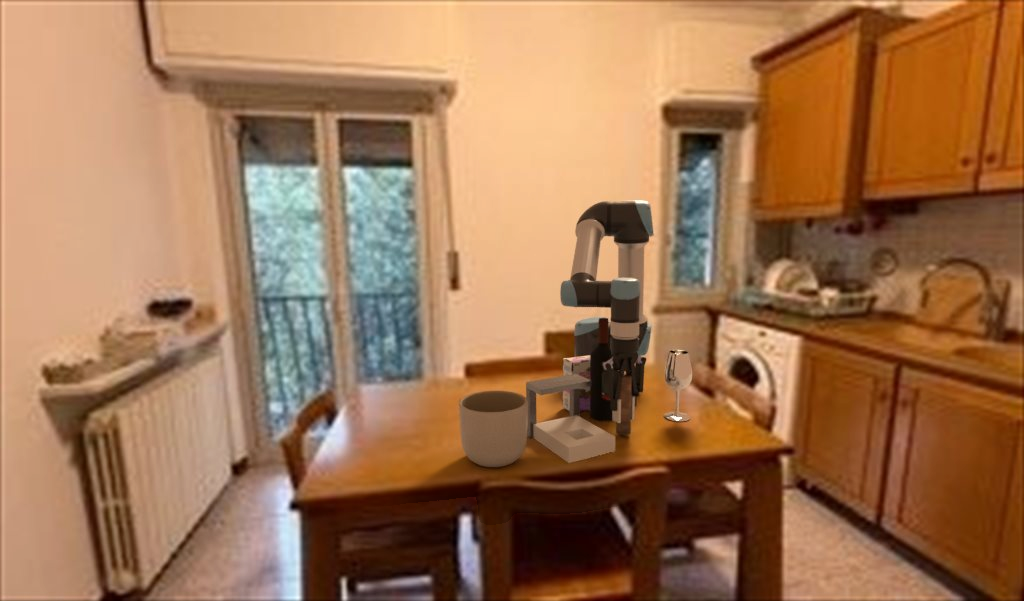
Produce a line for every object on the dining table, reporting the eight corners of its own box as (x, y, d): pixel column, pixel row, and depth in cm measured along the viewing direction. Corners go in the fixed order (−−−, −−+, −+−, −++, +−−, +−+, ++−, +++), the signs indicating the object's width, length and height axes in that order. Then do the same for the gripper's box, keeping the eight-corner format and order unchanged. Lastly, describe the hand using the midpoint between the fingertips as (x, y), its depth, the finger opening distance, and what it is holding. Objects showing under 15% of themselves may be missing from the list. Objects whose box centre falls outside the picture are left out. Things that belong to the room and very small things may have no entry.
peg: (624, 428, 157) (625, 373, 155) (633, 433, 154) (634, 376, 151) (612, 431, 156) (613, 375, 153) (621, 436, 152) (622, 379, 149)
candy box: (571, 414, 172) (571, 362, 170) (562, 408, 177) (561, 357, 175) (609, 407, 178) (610, 356, 175) (599, 402, 183) (599, 352, 180)
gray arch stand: (575, 425, 163) (575, 373, 160) (591, 435, 156) (591, 380, 153) (526, 436, 156) (526, 381, 153) (541, 446, 149) (540, 389, 146)
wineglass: (658, 417, 168) (660, 352, 165) (671, 410, 174) (672, 347, 171) (683, 424, 163) (685, 356, 160) (695, 416, 168) (697, 351, 165)
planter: (532, 472, 134) (531, 411, 132) (460, 476, 133) (458, 414, 130) (524, 443, 151) (524, 389, 148) (460, 447, 149) (459, 391, 147)
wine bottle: (600, 410, 175) (600, 315, 170) (620, 416, 169) (621, 318, 165) (584, 417, 170) (585, 319, 165) (605, 423, 164) (606, 322, 160)
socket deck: (576, 428, 161) (576, 415, 160) (615, 451, 145) (615, 436, 144) (533, 437, 154) (533, 424, 154) (568, 463, 139) (568, 447, 138)
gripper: (640, 330, 157) (639, 410, 161) (589, 337, 150) (589, 421, 154) (658, 335, 151) (657, 418, 155) (606, 343, 143) (606, 430, 147)
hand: (623, 419), depth 154 cm, fingers closed on peg, 4 cm apart
